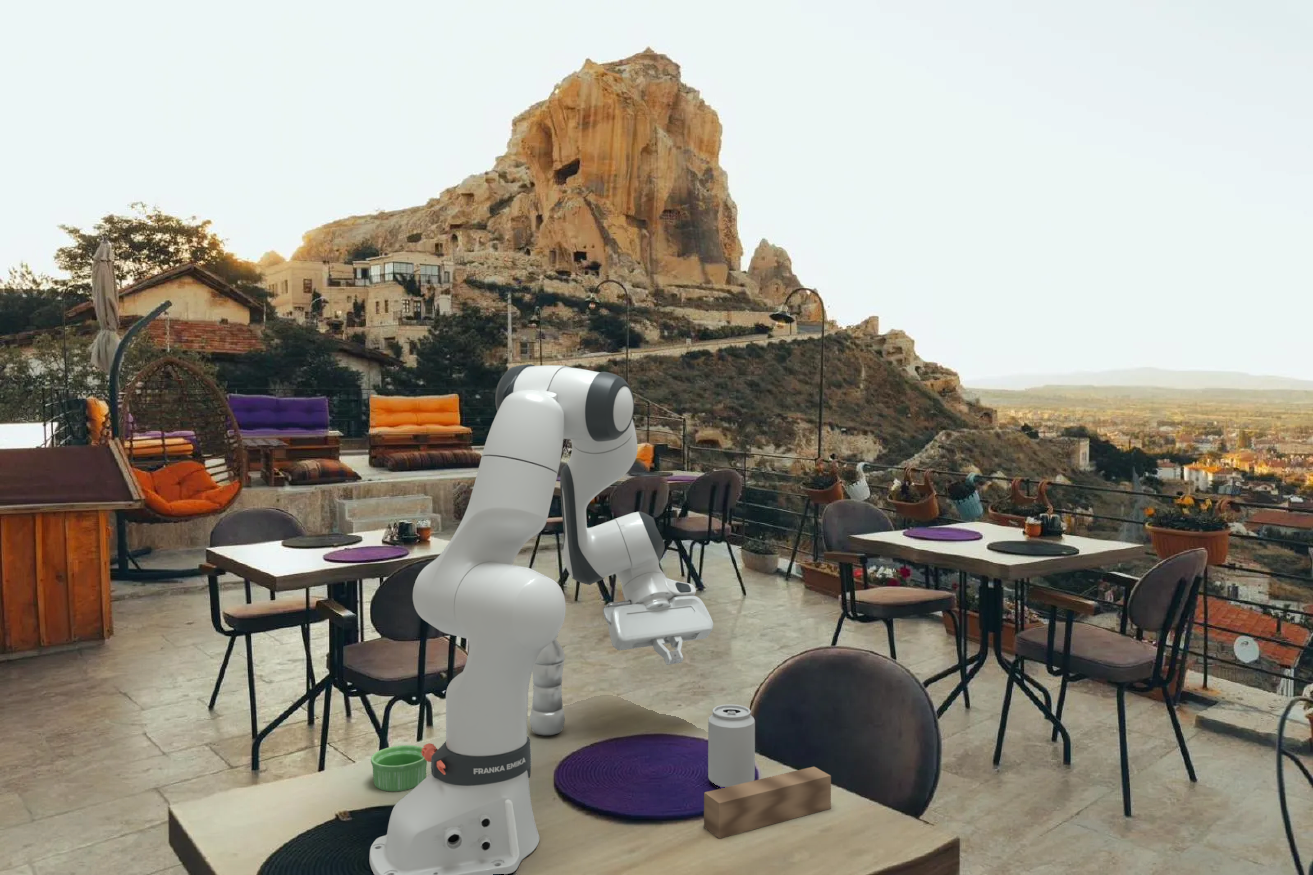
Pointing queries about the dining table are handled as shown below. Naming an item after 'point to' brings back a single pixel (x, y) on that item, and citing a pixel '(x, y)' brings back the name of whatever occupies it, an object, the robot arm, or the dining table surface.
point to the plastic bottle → (548, 691)
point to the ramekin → (398, 768)
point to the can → (731, 745)
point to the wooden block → (766, 801)
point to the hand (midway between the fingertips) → (675, 662)
